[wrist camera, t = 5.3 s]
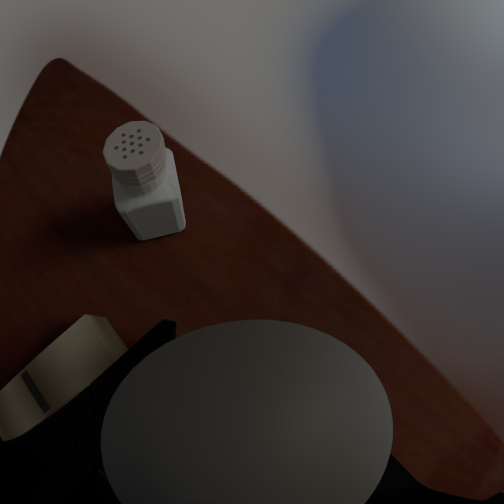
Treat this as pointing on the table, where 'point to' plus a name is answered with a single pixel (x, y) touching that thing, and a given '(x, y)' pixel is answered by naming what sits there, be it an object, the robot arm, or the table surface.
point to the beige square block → (58, 374)
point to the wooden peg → (248, 420)
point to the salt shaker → (144, 180)
